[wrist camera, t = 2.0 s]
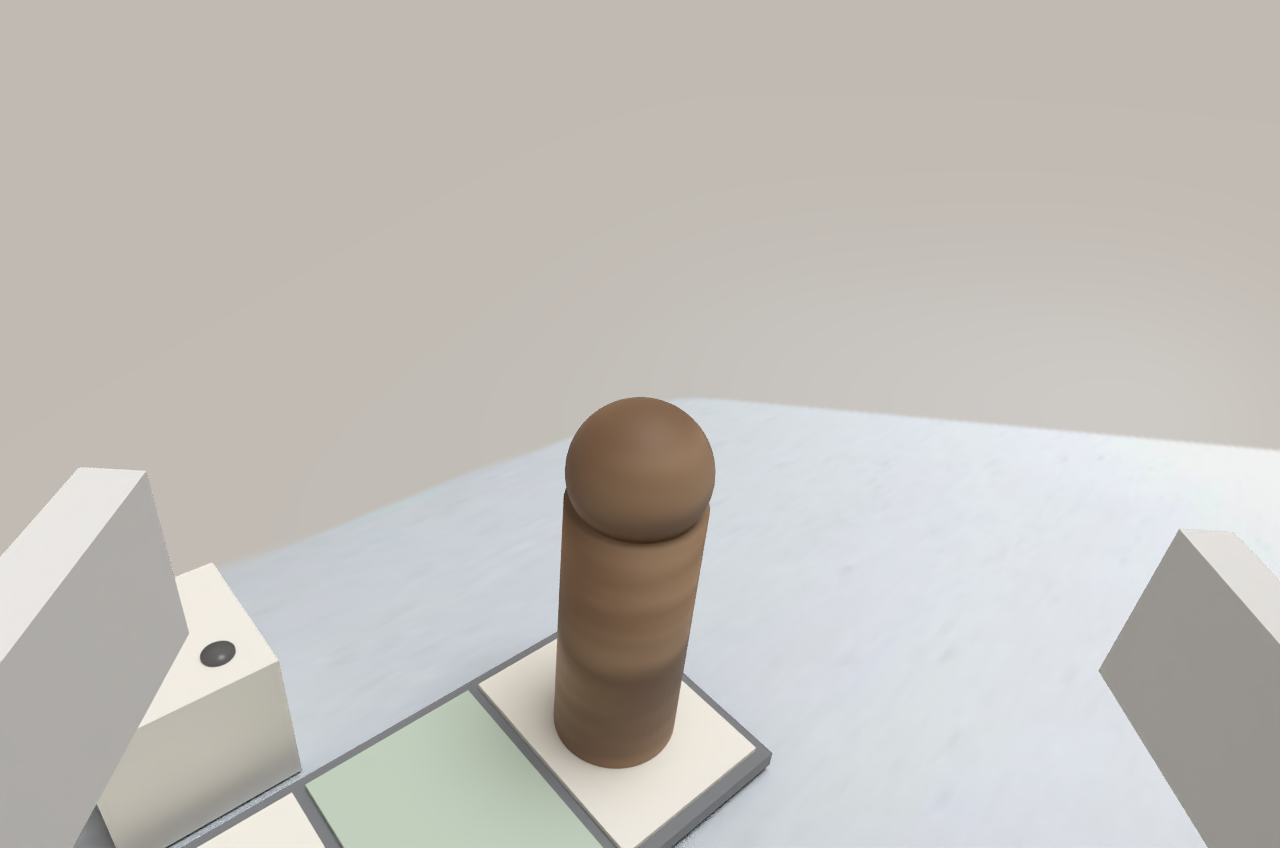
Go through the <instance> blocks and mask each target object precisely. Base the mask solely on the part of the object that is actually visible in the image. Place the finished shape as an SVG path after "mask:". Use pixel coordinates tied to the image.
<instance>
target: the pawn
mask: <svg viewBox="0 0 1280 848" xmlns="http://www.w3.org/2000/svg"><path fill="white" fill-rule="evenodd" d="M565 480H566V487H567V488H566V490H565V493H564V502H563V524H562V546H561V567H560V589H559V610H558V632H557V653H556V675H555V697H554V724H555V729H556V731H557V734H558V736H559V738H560V740H561V741H562V743H563V744H564V745H565V747H566V748H567V749H568V750H569V751H570V752H571V753H573V754H574V755H575V756H577V757H578V758H580V759H581V760H583V761H585V762H587V763H590V764H592V765H595V766H599V767H603V768H611V769H622V768H630V767H634V766H637V765H641V764H643V763H645V762H647V761H649V760H651V759H652V758H654V757H655V756H657V755H658V754H659V753H660V752H661V751H662V750H663V749H664V748H665V747H666V745H667V743H668V742H669V740H670V738H671V736H672V733H673V729H674V724H675V718H676V712H677V706H678V700H679V694H680V688H681V682H682V676H683V670H684V664H685V658H686V652H687V646H688V640H689V634H690V628H691V622H692V616H693V610H694V604H695V598H696V592H697V586H698V580H699V574H700V568H701V562H702V556H703V550H704V544H705V538H706V532H707V526H708V520H709V513H710V506H709V501H710V499H711V496H712V492H713V488H714V483H715V462H714V456H713V452H712V449H711V446H710V444H709V441H708V439H707V437H706V435H705V434H704V432H703V431H702V429H701V428H700V426H699V425H698V424H697V423H696V422H695V421H694V420H693V418H691V417H690V416H689V415H688V414H687V413H685V412H684V411H683V410H681V409H680V408H678V407H676V406H675V405H672V404H670V403H668V402H665V401H662V400H658V399H654V398H647V397H646V398H645V397H635V398H627V399H622V400H618V401H615V402H613V403H610V404H608V405H606V406H604V407H602V408H601V409H599V410H598V411H596V412H595V413H594V414H592V415H591V416H590V417H589V418H588V419H587V420H586V421H585V422H584V423H583V424H582V425H581V427H580V428H579V430H578V431H577V433H576V434H575V436H574V438H573V440H572V442H571V444H570V447H569V450H568V454H567V457H566V465H565Z"/></svg>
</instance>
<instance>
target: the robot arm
mask: <svg viewBox="0 0 1280 848" xmlns="http://www.w3.org/2000/svg"><path fill="white" fill-rule="evenodd" d="M188 635H189V630H188V626H187V623H186V619H185V615H184V611H183V608H182V604H181V600H180V596H179V593H178V589H177V585H176V581H175V577H174V574H173V570H172V566H171V562H170V559H169V555H168V551H167V547H166V543H165V540H164V536H163V532H162V528H161V525H160V521H159V517H158V514H157V509H156V506H155V502H154V498H153V494H152V491H151V487H150V483H149V479H148V475H147V472H146V471H137V470H119V469H101V468H82V467H79V468H78V469H77V470H76V472H75V473H74V474H73V475H72V476H71V477H70V478H69V480H68V481H67V482H66V483H65V484H64V485H63V486H62V487H61V489H60V490H59V491H58V492H57V493H56V494H55V495H54V497H53V498H52V499H51V500H50V501H49V502H48V503H47V505H46V506H45V507H44V508H43V509H42V510H41V511H40V512H39V514H38V515H37V516H36V517H35V518H34V519H33V521H32V522H31V523H30V524H29V525H28V526H27V527H26V528H25V530H24V531H23V532H22V533H21V534H20V535H19V536H18V537H17V539H16V540H15V541H14V542H13V543H12V544H11V545H10V547H9V548H8V549H7V550H6V551H5V552H4V553H3V555H2V556H1V557H0V848H73V847H74V845H75V843H76V841H77V839H78V837H79V836H80V834H81V832H82V830H83V828H84V826H85V824H86V823H87V821H88V819H89V817H90V815H91V813H92V812H93V810H94V808H95V806H96V804H97V802H98V801H99V799H100V797H101V795H102V793H103V791H104V789H105V788H106V786H107V784H108V782H109V780H110V778H111V777H112V775H113V773H114V771H115V769H116V767H117V766H118V764H119V762H120V760H121V758H122V756H123V754H124V753H125V751H126V749H127V747H128V745H129V743H130V742H131V740H132V738H133V736H134V734H135V732H136V731H137V729H138V727H139V725H140V723H141V721H142V719H143V718H144V716H145V714H146V712H147V710H148V708H149V707H150V705H151V703H152V701H153V699H154V697H155V696H156V694H157V692H158V690H159V688H160V686H161V684H162V683H163V681H164V679H165V677H166V675H167V673H168V672H169V670H170V668H171V666H172V664H173V662H174V661H175V659H176V657H177V655H178V653H179V651H180V649H181V648H182V646H183V644H184V642H185V640H186V638H187V637H188ZM1099 672H1100V674H1101V675H1102V677H1103V679H1104V680H1105V682H1106V684H1107V685H1108V687H1109V688H1110V690H1111V692H1112V693H1113V695H1114V696H1115V698H1116V700H1117V701H1118V703H1119V705H1120V706H1121V708H1122V709H1123V711H1124V713H1125V714H1126V716H1127V718H1128V719H1129V721H1130V722H1131V724H1132V726H1133V727H1134V729H1135V730H1136V732H1137V734H1138V735H1139V737H1140V739H1141V740H1142V742H1143V743H1144V745H1145V747H1146V748H1147V750H1148V752H1149V753H1150V755H1151V756H1152V758H1153V760H1154V761H1155V763H1156V764H1157V766H1158V768H1159V769H1160V771H1161V773H1162V774H1163V776H1164V777H1165V779H1166V781H1167V782H1168V784H1169V785H1170V787H1171V789H1172V790H1173V792H1174V794H1175V795H1176V797H1177V798H1178V800H1179V802H1180V803H1181V805H1182V807H1183V808H1184V810H1185V811H1186V813H1187V815H1188V816H1189V818H1190V819H1191V821H1192V823H1193V824H1194V826H1195V828H1196V829H1197V831H1198V832H1199V834H1200V836H1201V837H1202V839H1203V841H1204V842H1205V844H1206V845H1207V847H1208V848H1280V581H1279V579H1278V578H1277V577H1276V576H1275V575H1274V574H1273V573H1272V572H1271V571H1270V570H1269V569H1268V568H1267V567H1266V566H1265V565H1264V564H1263V563H1262V562H1261V561H1260V559H1259V558H1258V557H1257V556H1256V555H1255V554H1254V553H1253V552H1252V551H1251V550H1250V549H1249V548H1248V547H1247V546H1246V545H1245V544H1244V543H1243V542H1242V541H1241V540H1240V538H1239V537H1238V536H1237V535H1236V534H1235V533H1234V532H1223V531H1205V530H1187V529H1179V531H1178V532H1177V534H1176V536H1175V538H1174V539H1173V541H1172V543H1171V545H1170V546H1169V548H1168V550H1167V552H1166V553H1165V555H1164V557H1163V559H1162V560H1161V562H1160V564H1159V566H1158V567H1157V569H1156V571H1155V573H1154V574H1153V576H1152V578H1151V580H1150V581H1149V583H1148V585H1147V587H1146V588H1145V590H1144V592H1143V594H1142V595H1141V597H1140V599H1139V601H1138V602H1137V604H1136V606H1135V608H1134V609H1133V611H1132V613H1131V615H1130V616H1129V618H1128V620H1127V622H1126V623H1125V625H1124V627H1123V629H1122V631H1121V632H1120V634H1119V636H1118V638H1117V639H1116V641H1115V643H1114V645H1113V646H1112V648H1111V650H1110V652H1109V653H1108V655H1107V657H1106V659H1105V660H1104V662H1103V664H1102V666H1101V667H1100V669H1099Z"/></svg>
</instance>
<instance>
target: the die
mask: <svg viewBox="0 0 1280 848" xmlns="http://www.w3.org/2000/svg"><path fill="white" fill-rule="evenodd" d="M175 581H176V585H177V589H178V593H179V596H180V600H181V604H182V608H183V611H184V615H185V619H186V623H187V626H188V630H189V635H188V637H187V638H186V640H185V642H184V644H183V646H182V648H181V649H180V651H179V653H178V655H177V657H176V659H175V661H174V662H173V664H172V666H171V668H170V670H169V672H168V673H167V675H166V677H165V679H164V681H163V683H162V684H161V686H160V688H159V690H158V692H157V694H156V696H155V697H154V699H153V701H152V703H151V705H150V707H149V708H148V710H147V712H146V714H145V716H144V718H143V719H142V721H141V723H140V725H139V727H138V729H137V731H136V732H135V734H134V736H133V738H132V740H131V742H130V743H129V745H128V747H127V749H126V751H125V753H124V754H123V756H122V758H121V760H120V762H119V764H118V766H117V767H116V769H115V771H114V773H113V775H112V777H111V778H110V780H109V782H108V784H107V786H106V788H105V789H104V791H103V793H102V795H101V797H100V799H99V801H98V802H97V806H98V808H99V810H100V813H101V815H102V817H103V819H104V822H105V824H106V826H107V829H108V831H109V833H110V835H111V838H112V840H113V842H114V844H115V847H116V848H165V847H167V846H169V845H171V844H172V843H174V842H176V841H178V840H179V839H181V838H183V837H185V836H187V835H188V834H190V833H192V832H194V831H195V830H197V829H199V828H201V827H202V826H204V825H206V824H208V823H209V822H211V821H213V820H215V819H216V818H218V817H220V816H222V815H223V814H225V813H227V812H229V811H230V810H232V809H234V808H236V807H237V806H239V805H241V804H243V803H245V802H246V801H248V800H250V799H252V798H253V797H255V796H257V795H259V794H260V793H262V792H264V791H266V790H267V789H269V788H271V787H273V786H274V785H276V784H278V783H280V782H281V781H283V780H285V779H287V778H288V777H290V776H292V775H294V774H296V773H297V772H299V771H301V770H302V769H301V764H300V759H299V754H298V750H297V745H296V740H295V735H294V731H293V726H292V721H291V716H290V712H289V707H288V702H287V697H286V693H285V688H284V683H283V679H282V674H281V669H280V664H279V660H278V659H277V657H276V656H275V654H274V653H273V651H272V650H271V648H270V647H269V645H268V644H267V642H266V641H265V640H264V638H263V637H262V635H261V634H260V632H259V631H258V629H257V628H256V626H255V625H254V623H253V622H252V620H251V619H250V617H249V616H248V614H247V613H246V611H245V610H244V609H243V607H242V606H241V604H240V603H239V601H238V600H237V598H236V597H235V595H234V594H233V592H232V591H231V589H230V588H229V586H228V585H227V583H226V582H225V580H224V579H223V578H222V576H221V575H220V573H219V572H218V570H217V569H216V567H215V566H214V564H213V563H210V564H207V565H204V566H202V567H199V568H197V569H194V570H192V571H189V572H186V573H184V574H182V575H179V576H176V577H175Z"/></svg>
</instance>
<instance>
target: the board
mask: <svg viewBox="0 0 1280 848" xmlns="http://www.w3.org/2000/svg"><path fill="white" fill-rule="evenodd" d="M557 632H558V631H557ZM557 632H556V633H554V634H552V635H551V636H549V637H547V638H545V639H544V640H542V641H540V642H538V643H537V644H535V645H533V646H531V647H530V648H528V649H526V650H524V651H523V652H521V653H519V654H517V655H516V656H514V657H512V658H511V659H509V660H507V661H505V662H504V663H502V664H500V665H498V666H497V667H495V668H493V669H491V670H490V671H488V672H486V673H484V674H483V675H481V676H479V677H477V678H476V679H474V680H472V681H470V682H469V683H467V684H465V685H464V686H462V687H460V688H458V689H457V690H455V691H453V692H451V693H450V694H448V695H446V696H444V697H443V698H441V699H439V700H437V701H436V702H434V703H432V704H430V705H429V706H427V707H425V708H424V709H422V710H420V711H418V712H417V713H415V714H413V715H411V716H410V717H408V718H406V719H404V720H403V721H401V722H399V723H397V724H396V725H394V726H392V727H390V728H389V729H387V730H385V731H383V732H382V733H380V734H378V735H377V736H375V737H373V738H371V739H370V740H368V741H366V742H364V743H363V744H361V745H359V746H357V747H356V748H354V749H352V750H350V751H349V752H347V753H345V754H343V755H342V756H340V757H338V758H337V759H335V760H333V761H331V762H330V763H328V764H326V765H324V766H323V767H321V768H319V769H317V770H316V771H314V772H312V773H310V774H309V775H307V776H305V777H303V778H302V779H300V780H298V781H296V782H295V783H293V784H291V785H290V786H288V787H286V788H284V789H283V790H281V791H279V792H277V793H276V794H274V795H272V796H270V797H269V798H267V799H265V800H263V801H262V802H260V803H258V804H256V805H255V806H253V807H251V808H250V809H248V810H246V811H244V812H243V813H241V814H239V815H237V816H236V817H234V818H232V819H230V820H229V821H227V822H225V823H223V824H222V825H220V826H218V827H216V828H215V829H213V830H211V831H209V832H208V833H206V834H204V835H203V836H201V837H199V838H197V839H196V840H194V841H192V842H190V843H189V844H187V845H185V846H183V847H182V848H671V847H673V846H674V845H675V844H676V843H677V842H678V841H680V840H681V839H682V838H683V837H684V836H686V835H687V834H688V833H689V832H690V831H691V830H693V829H694V828H695V827H696V826H697V825H699V824H700V823H701V822H702V821H703V820H704V819H706V818H707V817H708V816H709V815H710V814H712V813H713V812H714V811H715V810H716V809H717V808H719V807H720V806H721V805H722V804H723V803H724V802H726V801H727V800H728V799H729V798H730V797H732V796H733V795H734V794H735V793H736V792H737V791H739V790H740V789H741V788H742V787H743V786H745V785H746V784H747V783H748V782H749V781H750V780H752V779H753V778H754V777H755V776H756V775H758V774H759V773H760V772H761V771H762V770H763V769H765V768H766V767H767V766H768V765H769V764H770V760H771V756H772V752H770V751H769V750H768V749H767V748H766V747H765V746H764V745H763V744H762V743H760V742H759V741H758V740H757V739H756V738H755V737H754V736H753V735H752V734H750V733H749V732H748V731H747V730H746V729H745V728H744V727H743V726H742V725H740V724H739V723H738V722H737V721H736V720H735V719H734V718H733V717H732V716H730V715H729V714H728V713H727V712H726V711H725V710H724V709H723V708H722V707H720V706H719V705H718V704H717V703H716V702H715V701H714V700H713V699H712V698H710V697H709V696H708V695H707V694H706V693H705V692H704V691H703V690H702V689H700V688H699V687H698V686H697V685H696V684H695V683H694V682H693V681H692V680H690V679H689V678H688V677H687V676H686V675H685V674H684V673H683V676H682V682H681V688H680V694H679V700H678V706H677V712H676V718H675V724H674V729H673V733H672V736H671V738H670V740H669V742H668V743H667V745H666V747H665V748H664V749H663V750H662V751H661V752H660V753H659V754H658V755H657V756H655V757H654V758H652V759H651V760H649V761H647V762H645V763H643V764H641V765H637V766H634V767H630V768H622V769H611V768H603V767H599V766H595V765H592V764H590V763H587V762H585V761H583V760H581V759H580V758H578V757H577V756H575V755H574V754H573V753H571V752H570V751H569V750H568V749H567V748H566V747H565V745H564V744H563V743H562V741H561V740H560V738H559V736H558V734H557V731H556V729H555V724H554V697H555V675H556V653H557Z"/></svg>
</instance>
